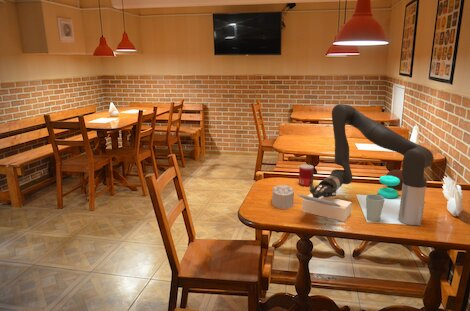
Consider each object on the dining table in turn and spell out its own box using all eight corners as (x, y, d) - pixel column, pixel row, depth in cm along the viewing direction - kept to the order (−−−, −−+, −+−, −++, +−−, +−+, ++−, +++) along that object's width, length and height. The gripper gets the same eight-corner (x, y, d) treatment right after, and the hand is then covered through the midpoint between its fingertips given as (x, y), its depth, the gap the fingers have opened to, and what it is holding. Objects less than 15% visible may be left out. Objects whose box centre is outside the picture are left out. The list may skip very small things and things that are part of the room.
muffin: (381, 187, 207) (383, 170, 204) (389, 182, 215) (390, 166, 212) (403, 192, 199) (405, 175, 196) (410, 187, 207) (412, 170, 204)
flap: (340, 205, 162) (333, 201, 152) (340, 207, 162) (332, 203, 152) (306, 198, 171) (297, 193, 161) (306, 199, 170) (297, 195, 161)
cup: (385, 222, 162) (387, 200, 160) (368, 222, 162) (370, 200, 159) (377, 215, 169) (379, 194, 167) (361, 215, 169) (363, 194, 166)
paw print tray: (292, 199, 188) (293, 183, 186) (293, 209, 176) (294, 192, 174) (272, 198, 189) (272, 182, 187) (272, 208, 177) (272, 191, 175)
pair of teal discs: (379, 174, 198) (399, 175, 195) (377, 191, 201) (397, 193, 197) (380, 179, 189) (401, 181, 186) (378, 197, 191) (398, 200, 188)
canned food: (312, 187, 207) (313, 168, 204) (298, 186, 208) (299, 167, 205) (312, 183, 214) (313, 164, 211) (298, 182, 215) (299, 164, 213)
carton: (350, 214, 171) (351, 201, 169) (343, 221, 163) (345, 208, 161) (309, 204, 181) (310, 193, 180) (302, 211, 174) (302, 199, 172)
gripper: (316, 175, 174) (301, 185, 160) (344, 180, 167) (330, 191, 153) (315, 190, 176) (300, 201, 162) (342, 196, 169) (329, 208, 155)
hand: (314, 196), depth 158 cm, fingers closed
